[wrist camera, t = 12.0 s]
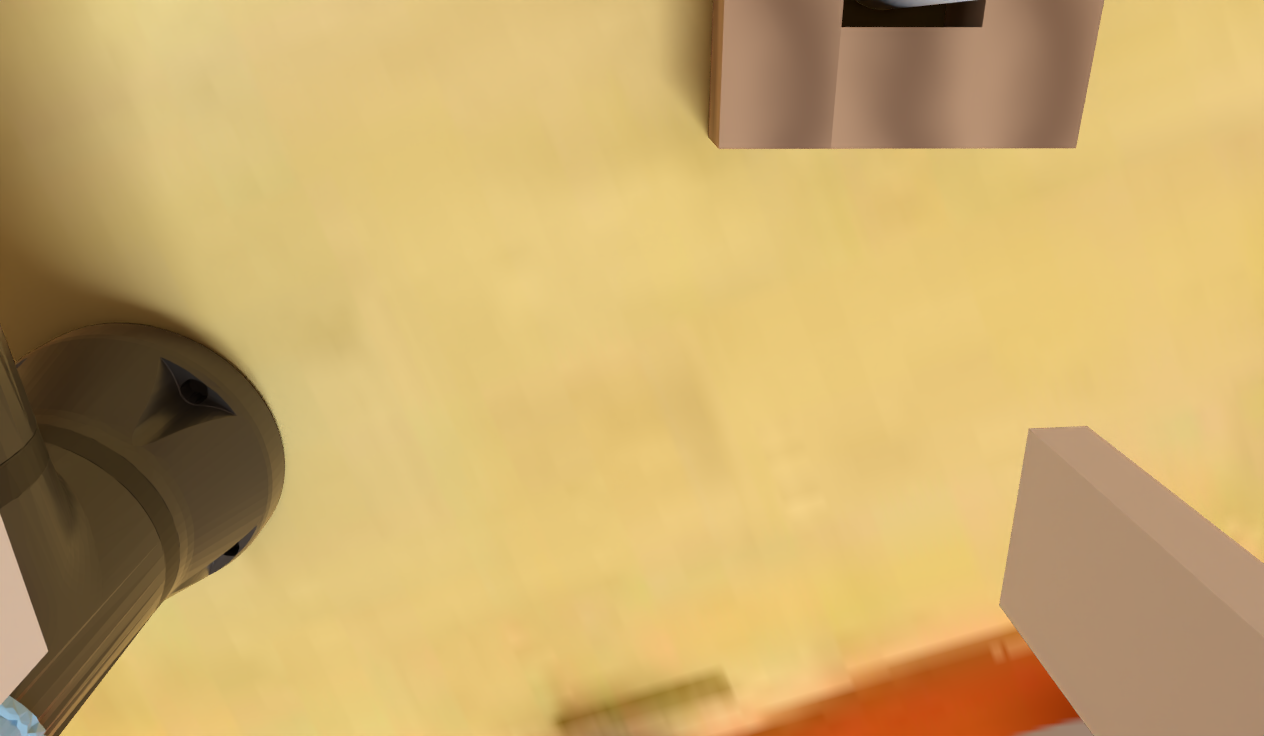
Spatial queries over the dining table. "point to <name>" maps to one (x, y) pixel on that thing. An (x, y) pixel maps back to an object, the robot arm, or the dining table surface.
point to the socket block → (900, 76)
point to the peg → (901, 3)
